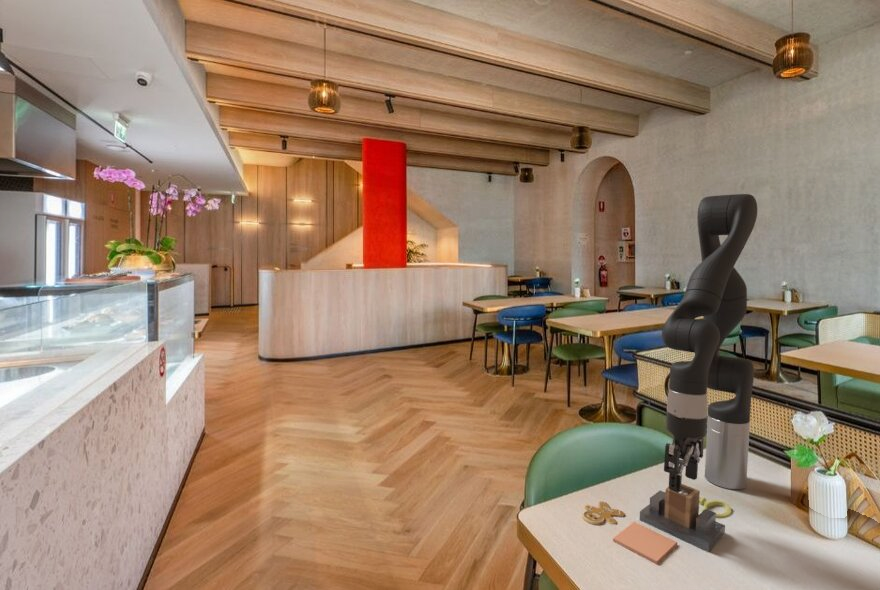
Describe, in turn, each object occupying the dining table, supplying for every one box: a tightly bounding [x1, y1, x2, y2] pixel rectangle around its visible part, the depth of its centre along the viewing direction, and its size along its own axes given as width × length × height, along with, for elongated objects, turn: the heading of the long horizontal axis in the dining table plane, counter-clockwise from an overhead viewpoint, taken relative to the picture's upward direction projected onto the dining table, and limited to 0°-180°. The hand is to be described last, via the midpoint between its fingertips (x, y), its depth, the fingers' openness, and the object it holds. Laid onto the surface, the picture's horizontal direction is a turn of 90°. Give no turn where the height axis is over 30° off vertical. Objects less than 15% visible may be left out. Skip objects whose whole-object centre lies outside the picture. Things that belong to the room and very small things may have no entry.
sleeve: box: [664, 483, 701, 528], centre depth 94 cm, size 5×5×6 cm
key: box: [699, 496, 732, 519], centre depth 103 cm, size 7×12×2 cm, turn 47°
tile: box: [612, 521, 678, 565], centre depth 89 cm, size 9×9×1 cm
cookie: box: [581, 501, 626, 526], centre depth 99 cm, size 8×1×10 cm
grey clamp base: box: [639, 489, 726, 553], centre depth 94 cm, size 9×14×8 cm, turn 39°
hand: (683, 484), depth 94 cm, fingers open, 8 cm apart
